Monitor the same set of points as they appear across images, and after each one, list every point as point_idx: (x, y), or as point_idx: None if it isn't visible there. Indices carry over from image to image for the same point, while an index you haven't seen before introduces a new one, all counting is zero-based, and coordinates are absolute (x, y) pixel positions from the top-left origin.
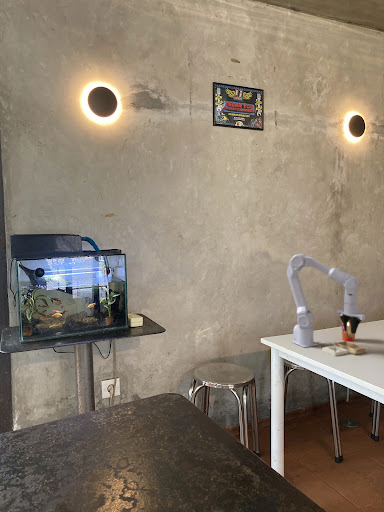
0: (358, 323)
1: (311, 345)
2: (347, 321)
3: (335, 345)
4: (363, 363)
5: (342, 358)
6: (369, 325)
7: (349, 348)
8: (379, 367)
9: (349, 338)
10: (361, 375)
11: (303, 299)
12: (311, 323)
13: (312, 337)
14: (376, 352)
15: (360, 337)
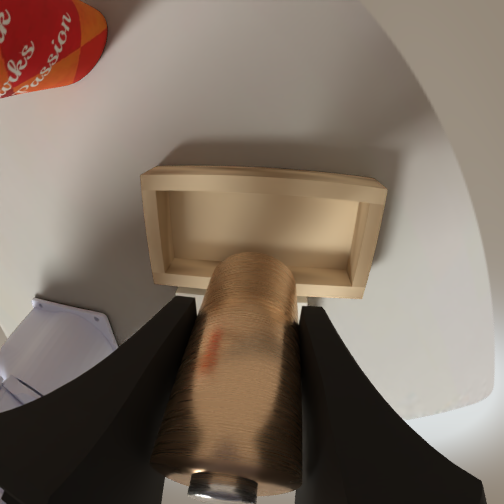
0: (402, 444)
1: (116, 348)
2: (188, 482)
3: (180, 293)
4: (436, 334)
5: None
6: None
7: (304, 293)
8: (492, 313)
9: (84, 60)
10: (453, 397)
11: None
12: (23, 403)
13: (88, 367)
14: (408, 98)
15: None
